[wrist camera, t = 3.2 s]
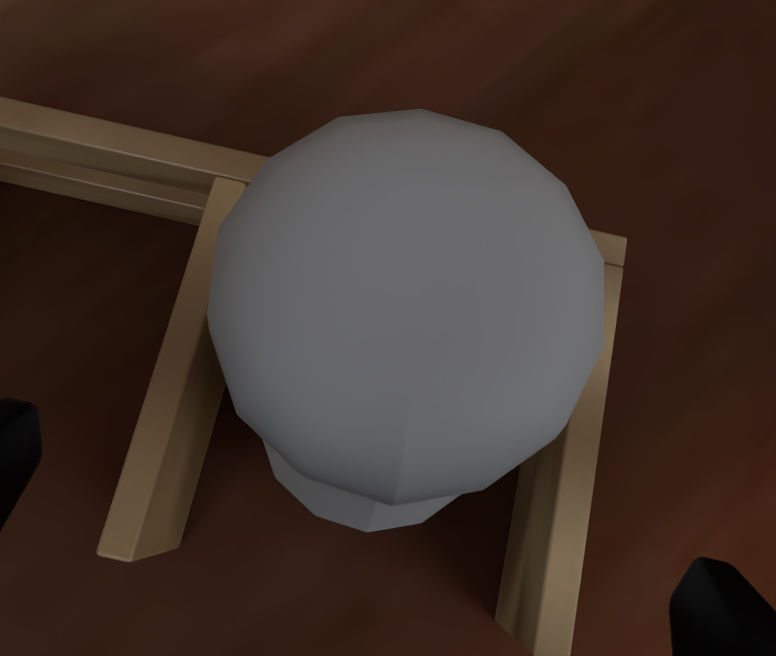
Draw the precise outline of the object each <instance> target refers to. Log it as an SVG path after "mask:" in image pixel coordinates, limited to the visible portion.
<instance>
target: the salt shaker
mask: <svg viewBox="0 0 776 656" xmlns="http://www.w3.org/2000/svg"><path fill="white" fill-rule="evenodd" d="M207 319H208V326H209V332H210V335H211V338H212V341H213V344H214V347H215V350H216V353H217V356H218V359H219V362H220V365H221V368H222V371H223V374H224V377H225V380H226V383H227V386H228V389H229V392H230V395H231V398H232V401H233V404H234V407H235V410H236V414H237V415H238V416H239V417H240V418H241V419H242V420H243V421H244V422H245V423H246V424H247V425H248V426H250V427H251V428H252V429H253V430H254V431H255V432H256V433H257V434H258V435H259V436H260V437H261V438H262V439H263V442H264V446H265V449H266V452H267V455H268V458H269V461H270V464H271V467H272V470H273V473H274V476H275V478H276V479H277V480H278V481H279V482H280V483H281V484H282V485H283V486H285V487H286V488H287V489H288V490H289V491H290V492H291V493H292V494H293V495H294V496H295V497H296V498H297V499H298V500H299V501H300V502H301V503H302V504H304V505H305V506H306V507H307V508H308V509H309V510H310V511H311V512H312V513H313V514H314V515H315V516H318V517H321V518H324V519H327V520H330V521H334V522H337V523H340V524H343V525H346V526H349V527H352V528H355V529H358V530H361V531H364V532H372V531H378V530H384V529H390V528H396V527H401V526H407V525H413V524H419V523H422V522H424V521H425V520H426V519H428V518H429V517H431V516H432V515H433V514H435V513H436V512H437V511H439V510H440V509H442V508H443V507H444V506H446V505H447V504H448V503H450V502H451V501H453V500H454V499H455V498H457V497H458V496H460V495H461V494H464V493H470V492H476V491H481V490H484V489H485V488H487V487H488V486H490V485H491V484H492V483H494V482H495V481H497V480H498V479H499V478H501V477H502V476H504V475H505V474H506V473H508V472H509V471H511V470H512V469H513V468H515V467H516V466H518V465H519V464H520V463H522V462H523V461H525V460H526V459H527V458H529V457H530V456H532V455H533V454H534V453H536V452H537V451H539V450H540V449H541V448H543V447H544V446H546V445H547V444H548V443H550V442H551V441H553V440H554V439H555V438H556V437H557V436H558V435H559V433H560V432H561V431H562V429H563V428H564V427H565V426H566V424H567V422H568V420H569V418H570V416H571V413H572V411H573V409H574V407H575V405H576V403H577V401H578V399H579V397H580V395H581V393H582V391H583V388H584V386H585V384H586V382H587V380H588V378H589V376H590V374H591V372H592V370H593V368H594V366H595V363H596V361H597V359H598V357H599V355H600V353H601V351H602V349H603V347H604V259H603V257H602V255H601V253H600V251H599V249H598V247H597V246H596V244H595V242H594V240H593V238H592V236H591V234H590V232H589V230H588V228H587V226H586V224H585V222H584V220H583V218H582V216H581V214H580V212H579V210H578V208H577V206H576V204H575V202H574V201H573V199H572V197H571V195H570V193H569V191H568V189H567V187H566V185H565V184H563V183H562V182H561V181H560V180H559V179H557V178H556V177H555V176H554V175H553V174H552V173H550V172H549V171H548V170H547V169H546V168H544V167H543V166H542V165H541V164H540V163H538V162H537V161H536V160H535V159H534V158H533V157H531V156H530V155H529V154H528V153H527V152H525V151H524V150H523V149H522V148H521V147H519V146H518V145H517V144H516V143H515V142H514V141H512V140H511V139H510V138H509V137H508V136H506V135H505V134H504V133H503V132H501V131H498V130H494V129H491V128H487V127H484V126H480V125H477V124H473V123H470V122H466V121H463V120H459V119H456V118H452V117H449V116H445V115H442V114H438V113H435V112H431V111H427V110H424V109H414V110H404V111H394V112H385V113H375V114H365V115H355V116H345V117H338V118H336V119H334V120H333V121H331V122H329V123H328V124H326V125H324V126H323V127H321V128H319V129H318V130H316V131H314V132H313V133H311V134H309V135H308V136H306V137H304V138H302V139H301V140H299V141H297V142H296V143H294V144H292V145H291V146H289V147H287V148H286V149H284V150H282V151H281V152H279V153H277V154H276V155H274V156H272V157H270V158H269V159H267V160H266V161H265V163H264V164H263V166H262V167H261V169H260V170H259V171H258V173H257V174H256V176H255V177H254V178H253V180H252V181H251V183H250V184H249V185H248V187H247V188H246V190H245V191H244V192H243V194H242V195H241V197H240V198H239V199H238V201H237V202H236V204H235V205H234V206H233V208H232V209H231V211H230V212H229V213H228V215H227V216H226V218H225V219H224V221H223V222H222V223H221V225H220V226H219V228H218V232H217V239H216V247H215V255H214V262H213V270H212V278H211V285H210V293H209V301H208V308H207Z"/></svg>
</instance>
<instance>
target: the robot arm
mask: <svg viewBox="0 0 776 656" xmlns="http://www.w3.org/2000/svg"><path fill="white" fill-rule="evenodd" d="M41 456H42V441H41V432H40V422H39V414H38V409H37V408H36V406H35V405H34V404H32V403H30V402H26V401H21V400H17V399H13V398H0V531H1V529H2V528H3V526H4V524H5V523H6V521H7V519H8V517H9V516H10V514H11V512H12V510H13V509H14V507H15V505H16V503H17V502H18V500H19V498H20V497H21V495H22V493H23V491H24V490H25V488H26V486H27V484H28V483H29V481H30V479H31V477H32V476H33V474H34V472H35V471H36V469H37V467H38V465H39V462H40V460H41ZM669 621H670V632H671V643H672V655H673V656H776V611H775V610H774V609H773V608H772V607H771V606H770V605H769V603H768V602H767V601H766V600H765V599H764V598H763V597H762V596H761V595H760V594H759V593H758V592H757V591H756V590H755V588H754V587H753V586H752V585H751V584H750V583H749V582H748V581H747V580H746V579H745V578H744V577H743V576H742V575H741V573H740V572H739V571H738V570H737V569H736V568H735V567H734V566H732V565H731V564H729V563H727V562H723V561H719V560H715V559H710V558H706V557H699V558H697V559H695V560H694V561H693V562H692V564H691V565H690V567H689V568H688V570H687V571H686V573H685V574H684V576H683V578H682V579H681V581H680V582H679V584H678V585H677V587H676V589H675V590H674V592H673V594H672V596H671V599H670V603H669Z"/></svg>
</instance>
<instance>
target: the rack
mask: <svg viewBox="0 0 776 656" xmlns="http://www.w3.org/2000/svg"><path fill="white" fill-rule="evenodd" d="M269 158H270V157H266V156H262V155H257V154H253V153H248V152H244V151H240V150H235V149H231V148H226V147H222V146H217V145H213V144H208V143H204V142H200V141H195V140H191V139H186V138H182V137H177V136H173V135H169V134H164V133H160V132H155V131H151V130H146V129H142V128H137V127H133V126H129V125H124V124H120V123H115V122H111V121H106V120H102V119H97V118H93V117H89V116H84V115H80V114H75V113H71V112H66V111H62V110H57V109H53V108H49V107H44V106H40V105H35V104H31V103H26V102H22V101H17V100H13V99H9V98H4V97H0V181H2V182H7V183H11V184H15V185H20V186H24V187H29V188H33V189H38V190H42V191H46V192H51V193H55V194H60V195H64V196H69V197H73V198H77V199H82V200H86V201H91V202H95V203H100V204H104V205H108V206H113V207H117V208H122V209H126V210H130V211H135V212H139V213H144V214H148V215H153V216H157V217H161V218H166V219H170V220H175V221H179V222H184V223H188V224H192V225H197V226H199V229H198V232H197V235H196V239H195V242H194V245H193V248H192V251H191V254H190V258H189V261H188V264H187V267H186V270H185V273H184V277H183V280H182V283H181V286H180V289H179V292H178V295H177V299H176V302H175V305H174V308H173V311H172V314H171V318H170V321H169V324H168V327H167V330H166V333H165V336H164V340H163V343H162V346H161V349H160V352H159V355H158V359H157V362H156V365H155V368H154V371H153V374H152V378H151V381H150V384H149V387H148V390H147V393H146V396H145V400H144V403H143V406H142V409H141V412H140V415H139V419H138V422H137V425H136V428H135V431H134V434H133V437H132V441H131V444H130V447H129V450H128V453H127V456H126V460H125V463H124V466H123V469H122V472H121V475H120V479H119V482H118V485H117V488H116V491H115V494H114V497H113V501H112V504H111V507H110V510H109V513H108V516H107V520H106V523H105V526H104V529H103V532H102V535H101V538H100V542H99V545H98V548H97V554H98V555H99V556H102V557H106V558H110V559H115V560H119V561H123V562H132V561H136V560H139V559H143V558H146V557H149V556H153V555H156V554H160V553H163V552H167V551H170V550H173V549H177V548H178V547H179V546H180V543H181V540H182V536H183V533H184V529H185V526H186V522H187V519H188V515H189V512H190V508H191V505H192V501H193V498H194V494H195V491H196V487H197V484H198V480H199V477H200V473H201V470H202V466H203V463H204V459H205V456H206V452H207V449H208V445H209V442H210V438H211V435H212V431H213V428H214V424H215V421H216V418H217V414H218V411H219V407H220V404H221V400H222V397H223V393H224V390H225V386H226V380H225V377H224V374H223V371H222V368H221V365H220V362H219V359H218V356H217V353H216V350H215V347H214V344H213V341H212V338H211V335H210V332H209V326H208V319H207V308H208V301H209V293H210V285H211V278H212V270H213V262H214V255H215V247H216V239H217V232H218V228H219V226H220V225H221V223H222V222H223V221H224V219H225V218H226V216H227V215H228V213H229V212H230V211H231V209H232V208H233V206H234V205H235V204H236V202H237V201H238V199H239V198H240V197H241V195H242V194H243V192H244V191H245V190H246V188H247V187H248V185H249V184H250V183H251V181H252V180H253V178H254V177H255V176H256V174H257V173H258V171H259V170H260V169H261V167H262V166H263V164H264V163H265V161H266V160H267V159H269ZM588 230H589V232H590V234H591V236H592V238H593V240H594V242H595V244H596V246H597V247H598V249H599V251H600V253H601V255H602V257H603V259H604V347H603V349H602V351H601V353H600V355H599V357H598V359H597V361H596V363H595V366H594V368H593V370H592V372H591V374H590V376H589V378H588V380H587V382H586V384H585V386H584V388H583V391H582V393H581V395H580V397H579V399H578V401H577V403H576V405H575V407H574V409H573V411H572V413H571V416H570V418H569V420H568V422H567V424H566V426H565V427H564V428H563V429H562V431H561V432H560V433H559V435H558V436H557V437H556V438H555V439H554V440H553V441H551V442H550V443H548V444H547V445H546V446H544V447H543V448H541V449H540V450H539V451H537V452H536V453H534V454H533V455H532V456H530V457H529V458H527V459H526V460H525V461H523V462H522V463H521V464H520V470H519V476H518V482H517V488H516V494H515V500H514V506H513V512H512V518H511V524H510V530H509V536H508V542H507V548H506V554H505V560H504V566H503V572H502V578H501V584H500V590H499V596H498V602H497V608H496V614H495V621H496V622H497V623H498V624H499V625H500V626H501V627H502V628H503V629H505V630H506V631H507V632H508V633H509V634H510V635H511V636H512V637H514V638H515V639H516V640H517V641H518V642H519V643H520V644H521V645H523V646H524V647H525V648H526V649H527V650H528V651H529V652H530V653H532V654H533V655H534V656H570V654H571V647H572V639H573V632H574V625H575V618H576V610H577V603H578V596H579V588H580V581H581V574H582V567H583V559H584V552H585V545H586V538H587V530H588V523H589V516H590V509H591V501H592V494H593V487H594V480H595V472H596V465H597V458H598V451H599V443H600V436H601V429H602V422H603V414H604V407H605V400H606V393H607V385H608V378H609V371H610V364H611V356H612V349H613V342H614V334H615V327H616V320H617V313H618V305H619V298H620V291H621V284H622V276H623V268H622V267H623V265H624V260H625V253H626V245H627V238H625V237H622V236H617V235H613V234H608V233H604V232H599V231H595V230H590V229H588Z"/></svg>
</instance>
